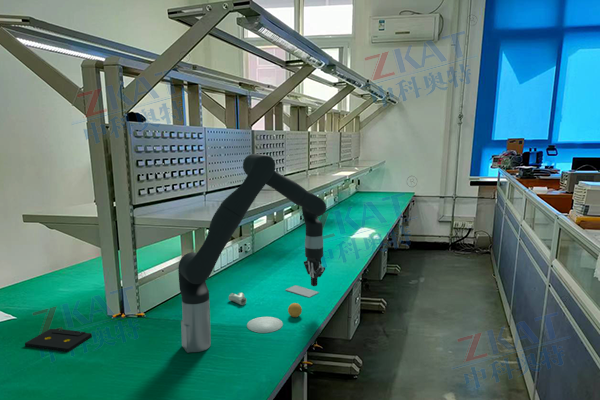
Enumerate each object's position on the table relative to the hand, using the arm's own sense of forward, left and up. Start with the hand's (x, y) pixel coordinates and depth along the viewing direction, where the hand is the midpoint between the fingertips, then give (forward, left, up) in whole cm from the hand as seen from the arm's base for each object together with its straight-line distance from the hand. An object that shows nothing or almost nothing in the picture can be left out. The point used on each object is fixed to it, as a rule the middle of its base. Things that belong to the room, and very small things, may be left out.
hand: (314, 285), depth 172 cm
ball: (-10, 0, -9) cm, 13 cm away
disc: (-24, 0, -11) cm, 26 cm away
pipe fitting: (-22, +27, -12) cm, 37 cm away
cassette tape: (-92, +29, -12) cm, 97 cm away
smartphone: (+8, +22, -12) cm, 26 cm away
